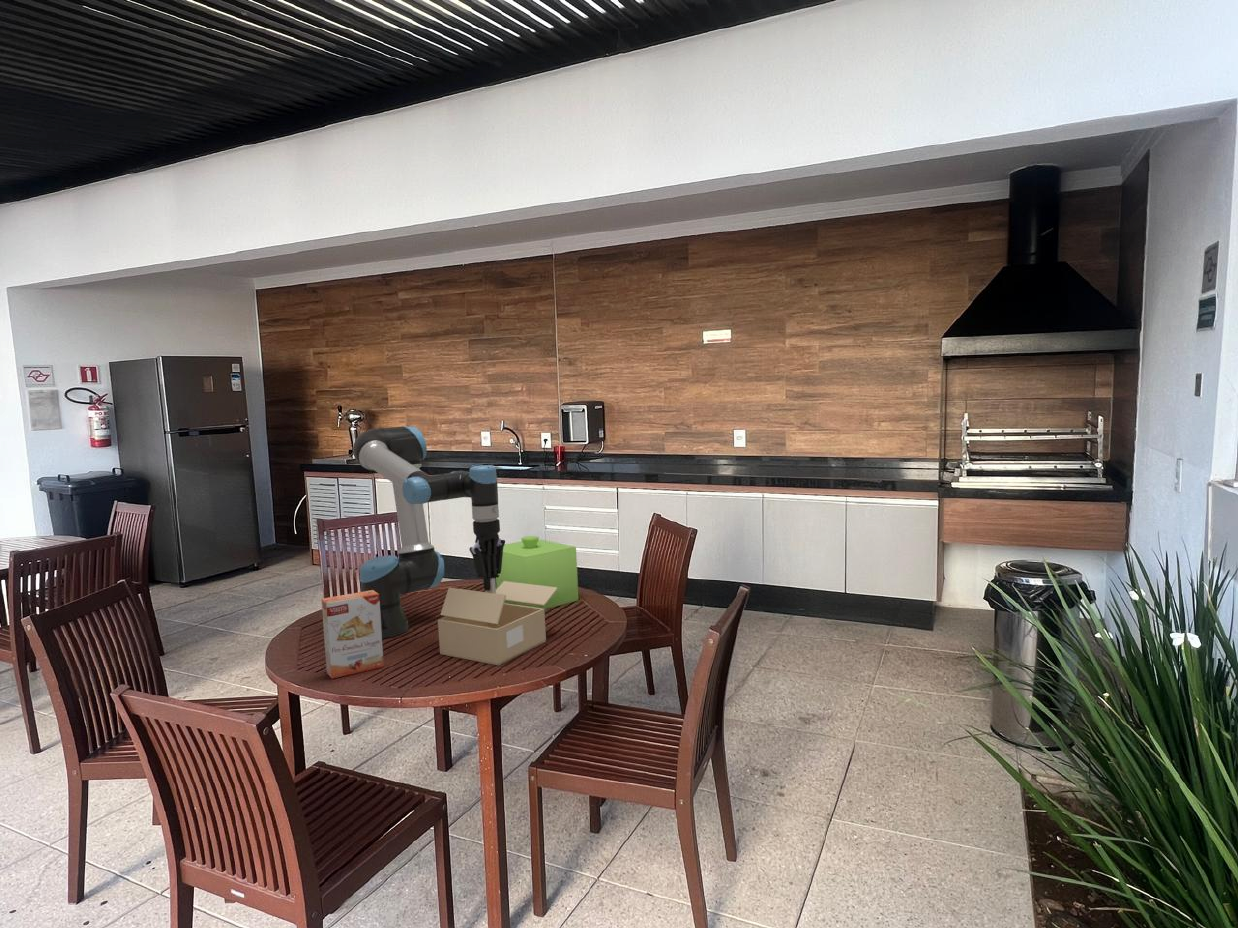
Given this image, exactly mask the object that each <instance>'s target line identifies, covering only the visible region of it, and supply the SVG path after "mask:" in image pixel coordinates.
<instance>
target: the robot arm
mask: <svg viewBox="0 0 1238 928" xmlns="http://www.w3.org/2000/svg"><path fill="white" fill-rule="evenodd" d="M427 447H428V446H427V442H426V439H425V437H424V434H423V433H422V432H421V431H420V430H419V429H418V428H417V427H414V426H403V425H401V426H393V427H379V428H370V429H367V430H364V431H363V432H361V433H360V434H359V435H358V436H357V437H356V438H355V440H354V442H353V446H352V454H353V457H354V459H355V461H356V463H357V464H359V465H360V466H361V467H362V468H365V469H366V470H368V471H369V470H371V471H375V472H376V473H377V474H379V475H381V477H383V478H385V479H386V480H387V481H389V482H391V483H392V488H393V489H392V490H393V494H394V502H395V511H396V515H397V517H396V518H397V522H398V523H397V524H398V530H399V537H400V542H401V548H400V549H399V550H398V552H397V555H398V557H397V556H396V555H394V554H393V555H392V554H391V555H389V554H388V555H387V554H386V555H383V556H377V557H373V558H371V559H369V560H367V561H366V560H365V562H363V563H362V565H361V566H359V567H360V569H359V583H360V592H364V591H369V590H374V591H375V592H377V593H378V594H379V600H380V615H381V631H382V640H383V639H389V638H394V637H396V636H399V635H403V634H404V633H406V632H408V630H409V620H408V619H407V616H406V614H405V611H404V609H403V605H402V600H401V598H402V597H401V596H403V595H407V594H412V593H415V592H421V591H425V590H429V589H433V588H435V587H437V586H439V585H440V583H441V582H442V581H443V578H444V574H445V561H444V558H443V557H442V554H441V553H440V552H439V551H437V550H435V546H434V545H432V544H431V543H430V542H429V536H428V531H427V528H428V527H427V523H426V515H425V510H424V509H425V508H424V504H426V503H427V504H428V503H432V502H441V501H447V500H453V499H460V498H471V516H472V517H471V518H472V520H473V522H472V530H473V531H472V532H473V534H474V535H475V541H474V542H475V544H474V545H473V546H471V547H469V553H471V556H472V559H473V563H474V568H475V572H476V574H477V575H476V576H477V578H479V579H481V580H483V589H484V592H487V593H494V594H496V578H498V577H499V575H498V574H500V573H501V567H502V556H503V547H504V545H505V544H506V540H505V539H501V538H500V535H499V533H500V532H501V525H500V519H498V518H500V511H499V489H498V488H499V487H498V476H497V469H496V468H497V467H495V465H492V464H487V465H486V464H484V465H482V464H481V465H473V466H470V468H469V471H465V470H457V471H456V470H455V471H451V472H447V473H440V474H427V473H426V472H424V470H423V471H422V470H421V469H420V468H421V467H422V465H423V464H422V460H425V458H426V456H427V451H428V449H427Z"/></svg>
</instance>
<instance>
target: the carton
mask: <svg viewBox="0 0 1238 928" xmlns="http://www.w3.org/2000/svg"><path fill="white" fill-rule="evenodd" d="M545 615H546V614H545V610H544V609H542V608H535V607H527V606H520V605H513V604H506V603H504V605H503V608H502V612H501V616H500V619H499V623H498V624H493V623H487V622H481V621H475V620H469V619H462V618H456V617H450V616H444V617H441V618H439V619H437V626H438V627H437V630H438V642H439V654H440V655H443V656H449V657H453V658H459V659H462V660H463V659H464V660H468V661H473V662H479V663H483V664H488V665H494V666H498V667H499V666H501V665H504V664H505V663H508V662H509V661H511V660H513V659H516V658H518V657H519V656H522V655H523V654H526V653H527V652H529V651H531V650H533V649H535V648H537V647H540V646H541V645H543V644H545V643H547V635H546V632H547V631H546V621H545V620H546V616H545Z"/></svg>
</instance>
